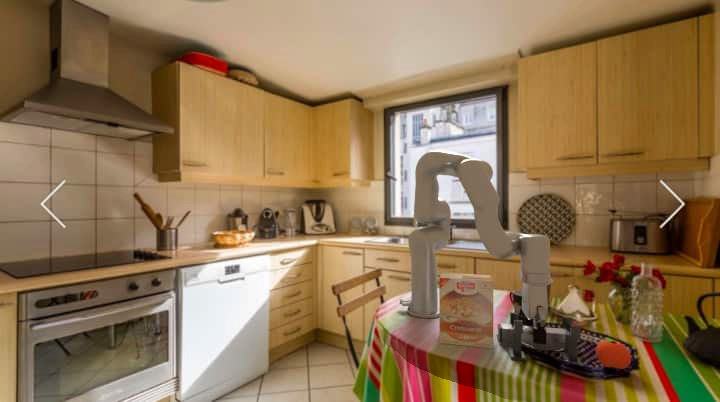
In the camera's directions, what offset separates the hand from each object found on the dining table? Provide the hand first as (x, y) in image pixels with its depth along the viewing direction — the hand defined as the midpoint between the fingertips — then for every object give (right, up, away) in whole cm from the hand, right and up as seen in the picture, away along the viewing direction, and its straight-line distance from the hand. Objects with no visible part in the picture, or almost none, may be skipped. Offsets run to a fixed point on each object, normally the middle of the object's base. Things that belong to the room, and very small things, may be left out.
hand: (535, 336), depth 95 cm
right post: (+4, -2, -10) cm, 11 cm away
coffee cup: (+20, -2, +33) cm, 39 cm away
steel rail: (0, -2, 0) cm, 2 cm away
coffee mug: (+6, -2, +18) cm, 19 cm away
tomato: (+12, -3, -13) cm, 18 cm away
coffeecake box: (-19, -3, +2) cm, 20 cm away
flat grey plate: (0, -2, 0) cm, 2 cm away
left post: (-9, -3, -6) cm, 11 cm away
